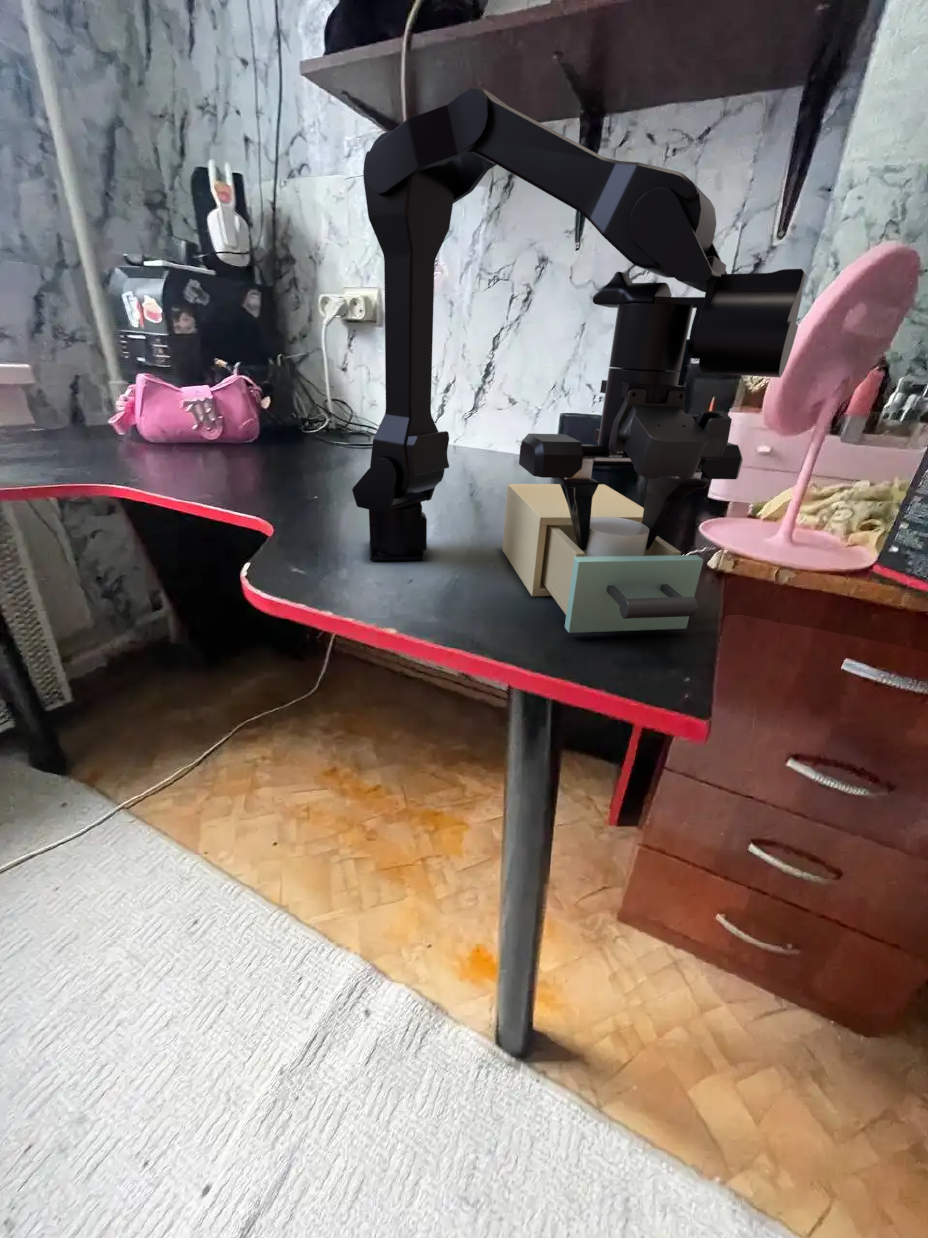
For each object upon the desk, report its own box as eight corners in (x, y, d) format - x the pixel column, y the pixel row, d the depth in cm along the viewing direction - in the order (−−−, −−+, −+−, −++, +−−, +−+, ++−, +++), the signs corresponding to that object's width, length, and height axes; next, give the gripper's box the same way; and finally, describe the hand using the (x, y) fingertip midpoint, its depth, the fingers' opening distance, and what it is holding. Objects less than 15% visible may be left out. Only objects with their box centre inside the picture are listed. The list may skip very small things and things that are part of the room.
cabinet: (643, 593, 60) (658, 517, 56) (531, 596, 58) (540, 517, 54) (594, 549, 73) (604, 484, 69) (502, 550, 71) (507, 483, 67)
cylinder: (591, 572, 50) (598, 535, 48) (571, 550, 55) (575, 516, 54) (653, 571, 51) (661, 535, 49) (626, 549, 56) (633, 516, 55)
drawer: (715, 655, 46) (736, 580, 43) (587, 660, 44) (600, 583, 41) (626, 574, 62) (637, 515, 59) (529, 576, 61) (535, 516, 58)
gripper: (567, 369, 37) (542, 583, 44) (813, 379, 40) (753, 579, 47) (525, 363, 47) (510, 539, 54) (725, 372, 49) (686, 537, 56)
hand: (613, 548), depth 52 cm, fingers closed on cylinder, 6 cm apart
